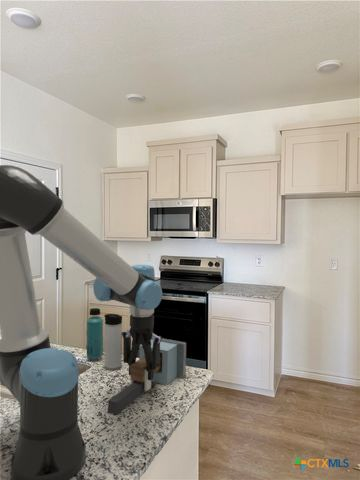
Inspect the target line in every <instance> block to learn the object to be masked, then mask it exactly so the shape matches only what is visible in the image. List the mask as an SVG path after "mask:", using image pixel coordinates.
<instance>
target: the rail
mask: <svg viewBox="0 0 360 480" xmlns="http://www.w3.org/2000/svg"><path fill="white" fill-rule="evenodd" d="M144 388H145V381H144V382H143V383H142V382H138V381H134V382H133V383H132V384H131V383H130V384H129V385H128V386H126V387H125V388H123V389H122V390H120V391H118V392H117V394H115V395H114V396H112V397H110V398H109V399H108V401H107V413H108V414H111V415H115V416H117V415H118V414H120V413H121V412H122V411H123V410H124V409H126V408H127V407H128V406H129V405H130V404H132V403H133V402H135V401H136V400H137V399H138V398H139V397H140V396H141V395H143V394H144V393H145V392H146V391H144Z"/></svg>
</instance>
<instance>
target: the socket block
mask: <svg viewBox="0 0 360 480" xmlns="http://www.w3.org/2000/svg"><path fill="white" fill-rule="evenodd" d="M152 341H153V340H151V350H152V351H153V342H152ZM160 353H162V368H161V369H160V370H158V371H157V372H156V373H154V374H153V379H152V380H151V382H153V383H158V384H161V385H166V386H168V385H169V384H171V382H173V381H174V380H175V379H176V378H178V377H177V344H172V343H166V342H160ZM138 354H139V356H138V360H139V359H141V358H143V357H144V356H145V354H144V349H143V348H142V345H141V344H140V345H139V348H138Z"/></svg>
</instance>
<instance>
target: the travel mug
mask: <svg viewBox="0 0 360 480" xmlns="http://www.w3.org/2000/svg"><path fill="white" fill-rule="evenodd" d="M103 316H104V362H103V363H104V370H106V371H117V370H118V371H119V370H120V369H121V368H122V366H123V365H122V361H123V360H122V359H123V358H122V357H123V355H122V354H123V351H122V350H123V349H122V348H123V336H122V332H123V315H119V314H118V313H106V314H104V315H103Z"/></svg>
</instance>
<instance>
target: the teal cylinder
mask: <svg viewBox="0 0 360 480" xmlns="http://www.w3.org/2000/svg"><path fill="white" fill-rule="evenodd" d="M89 315H90V317H89V318H87V320H86V345H85V347H86V349H85V350H86V357H87V358H88V359H99V358H101V357H103V356H104V355H103V354H104V332H103V331H104V319H103V317H101V316H100V315H101V309H100V308H98V307H97V308H96V307H92V308H90V309H89Z"/></svg>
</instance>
